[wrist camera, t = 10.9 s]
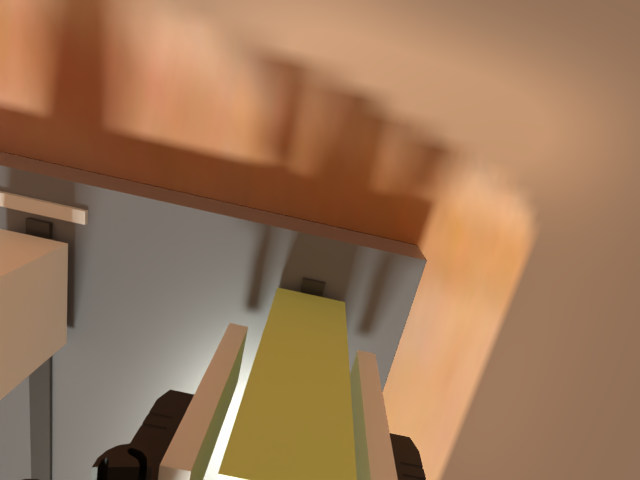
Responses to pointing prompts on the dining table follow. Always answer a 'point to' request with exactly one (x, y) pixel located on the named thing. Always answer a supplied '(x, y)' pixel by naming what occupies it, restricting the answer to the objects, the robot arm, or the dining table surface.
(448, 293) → the dining table surface
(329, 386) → the fader lime
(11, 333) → the fader cream
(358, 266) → the mixing board
